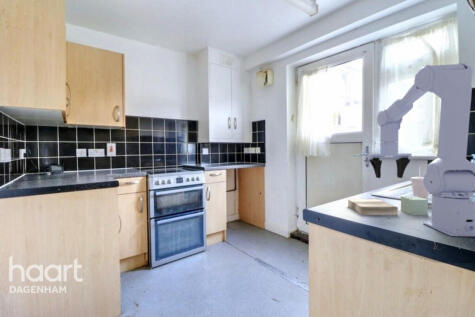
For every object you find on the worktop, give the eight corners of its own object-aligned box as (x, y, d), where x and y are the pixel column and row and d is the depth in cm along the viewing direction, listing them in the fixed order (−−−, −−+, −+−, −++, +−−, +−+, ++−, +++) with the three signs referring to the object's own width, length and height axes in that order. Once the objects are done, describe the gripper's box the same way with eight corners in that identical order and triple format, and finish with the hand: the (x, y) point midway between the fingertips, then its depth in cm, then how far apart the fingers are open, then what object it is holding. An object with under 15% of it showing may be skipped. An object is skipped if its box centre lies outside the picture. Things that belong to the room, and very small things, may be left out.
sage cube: (427, 215, 71) (427, 199, 71) (410, 215, 71) (411, 199, 71) (416, 210, 76) (416, 196, 76) (400, 210, 76) (400, 196, 76)
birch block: (397, 216, 72) (397, 207, 72) (362, 216, 73) (362, 207, 73) (379, 207, 83) (379, 199, 83) (348, 207, 84) (348, 199, 84)
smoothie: (423, 201, 89) (423, 165, 88) (436, 205, 82) (436, 167, 82) (406, 201, 89) (406, 166, 89) (417, 205, 83) (417, 167, 82)
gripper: (403, 142, 88) (403, 176, 89) (364, 143, 90) (364, 176, 91) (415, 141, 81) (414, 178, 82) (372, 142, 83) (372, 178, 84)
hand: (388, 177), depth 86 cm, fingers open, 7 cm apart
